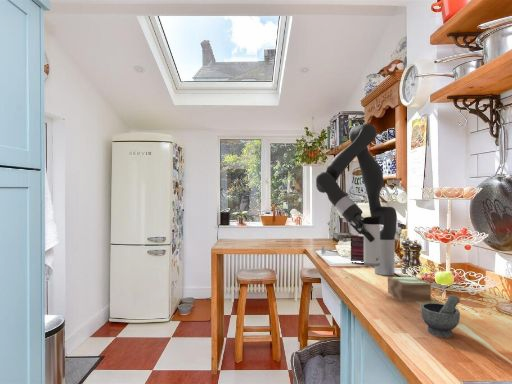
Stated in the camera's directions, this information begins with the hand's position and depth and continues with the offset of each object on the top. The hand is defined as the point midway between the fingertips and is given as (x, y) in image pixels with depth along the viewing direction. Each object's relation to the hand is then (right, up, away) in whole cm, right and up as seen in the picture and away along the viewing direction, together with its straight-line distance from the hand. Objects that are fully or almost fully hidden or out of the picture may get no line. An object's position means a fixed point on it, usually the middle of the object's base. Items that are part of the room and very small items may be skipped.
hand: (376, 239), depth 133 cm
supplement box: (+11, -22, +56) cm, 61 cm away
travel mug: (-1, -11, +1) cm, 11 cm away
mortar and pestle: (+4, -21, -40) cm, 45 cm away
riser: (+10, -21, -6) cm, 24 cm away
